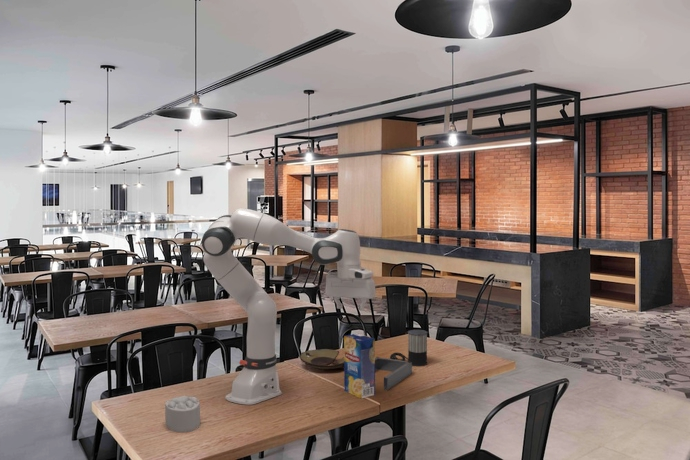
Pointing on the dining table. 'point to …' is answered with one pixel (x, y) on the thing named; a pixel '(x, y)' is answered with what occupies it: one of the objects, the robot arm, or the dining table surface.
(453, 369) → the dining table surface
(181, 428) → the lumpy-topped squat cylinder
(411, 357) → the milk frother
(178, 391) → the dining table surface
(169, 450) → the dining table surface
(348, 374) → the beverage box
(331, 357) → the olive brown plate
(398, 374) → the angle bracket
